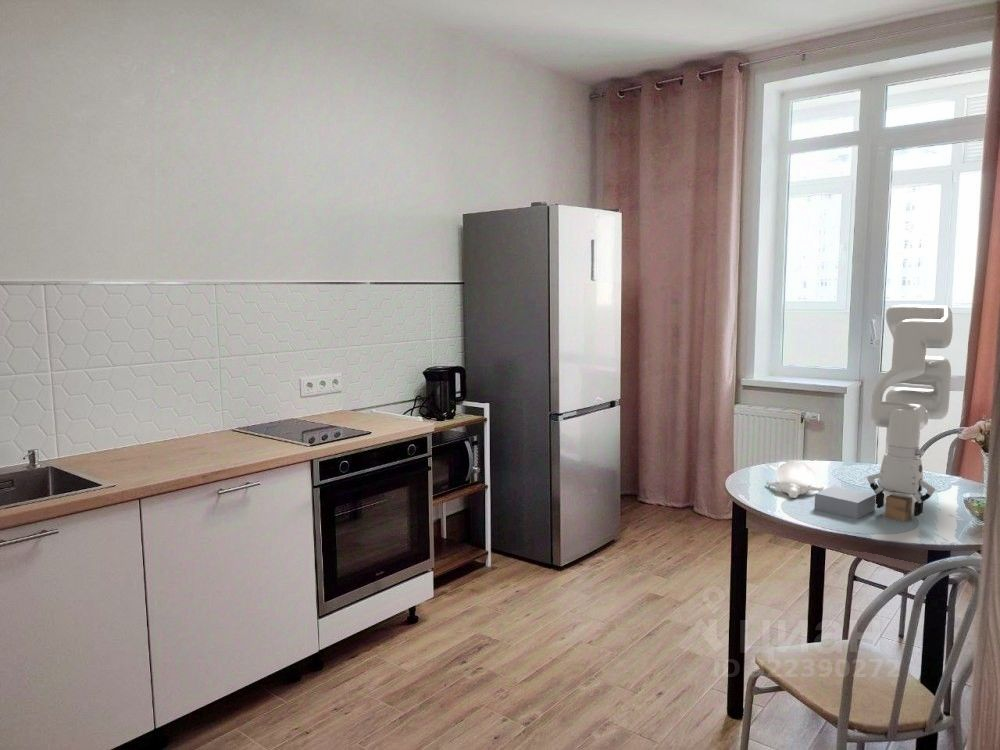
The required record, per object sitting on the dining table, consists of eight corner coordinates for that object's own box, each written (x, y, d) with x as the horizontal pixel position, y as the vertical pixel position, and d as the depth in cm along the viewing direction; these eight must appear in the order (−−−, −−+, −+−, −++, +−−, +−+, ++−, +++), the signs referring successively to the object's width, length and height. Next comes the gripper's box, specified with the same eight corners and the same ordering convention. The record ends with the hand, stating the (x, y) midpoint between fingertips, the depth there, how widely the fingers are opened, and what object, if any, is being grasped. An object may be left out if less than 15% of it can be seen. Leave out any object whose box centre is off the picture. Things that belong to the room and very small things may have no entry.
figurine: (769, 476, 239) (763, 497, 217) (770, 451, 238) (764, 470, 216) (823, 481, 232) (822, 504, 210) (825, 456, 231) (824, 476, 208)
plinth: (833, 501, 212) (833, 485, 211) (874, 511, 203) (875, 494, 202) (814, 509, 204) (815, 493, 203) (856, 520, 195) (857, 502, 194)
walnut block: (891, 513, 199) (893, 493, 199) (910, 517, 196) (912, 497, 195) (884, 517, 196) (886, 496, 195) (904, 521, 192) (905, 500, 192)
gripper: (942, 455, 189) (937, 516, 191) (875, 444, 202) (871, 501, 205) (932, 459, 185) (927, 521, 187) (864, 448, 198) (860, 506, 200)
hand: (898, 511), depth 196 cm, fingers open, 9 cm apart
